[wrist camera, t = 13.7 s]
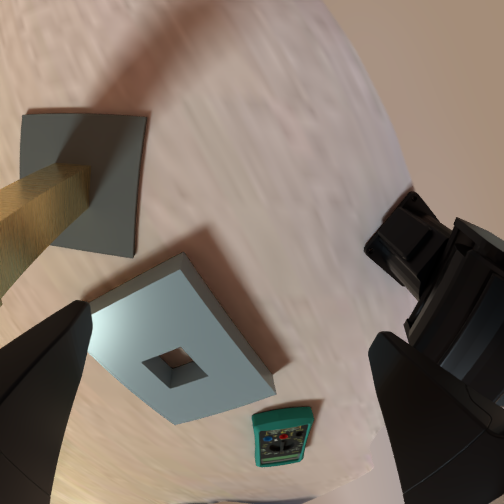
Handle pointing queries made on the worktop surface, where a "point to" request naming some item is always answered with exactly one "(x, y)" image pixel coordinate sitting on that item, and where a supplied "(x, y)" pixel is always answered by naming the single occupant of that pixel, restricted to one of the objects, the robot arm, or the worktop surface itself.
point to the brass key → (38, 215)
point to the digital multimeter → (281, 435)
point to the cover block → (176, 345)
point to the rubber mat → (92, 173)
